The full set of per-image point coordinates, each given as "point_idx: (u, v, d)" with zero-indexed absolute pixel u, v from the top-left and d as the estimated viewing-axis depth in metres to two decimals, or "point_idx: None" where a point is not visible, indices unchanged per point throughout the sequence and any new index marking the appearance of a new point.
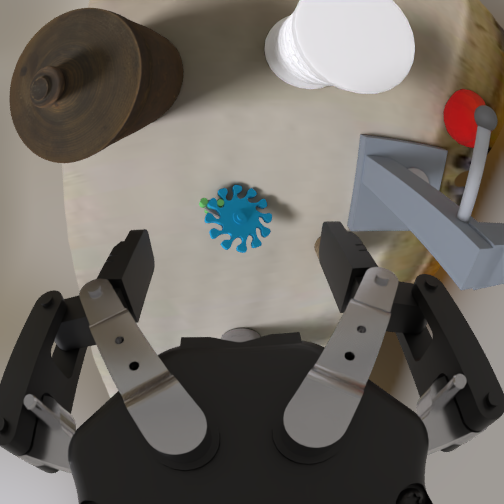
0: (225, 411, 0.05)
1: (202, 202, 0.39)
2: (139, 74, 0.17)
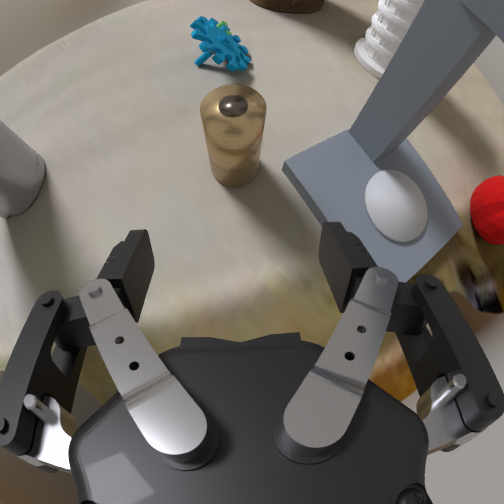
0: (226, 411, 0.05)
1: (223, 21, 0.29)
2: None
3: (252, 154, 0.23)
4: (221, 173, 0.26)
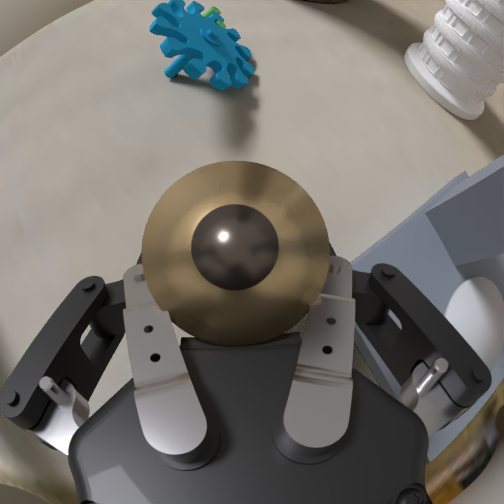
0: (225, 411, 0.05)
1: (214, 8, 0.18)
2: None
3: None
4: None
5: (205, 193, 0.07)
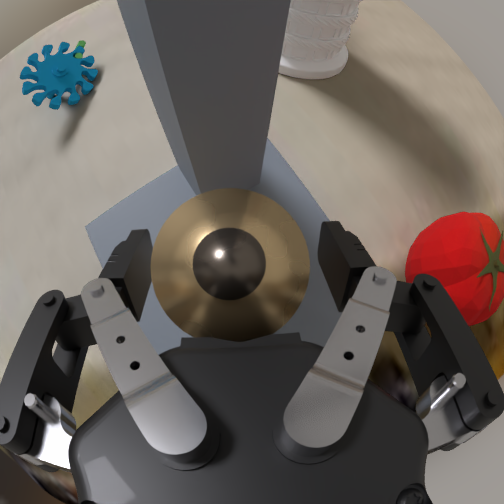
0: (226, 411, 0.05)
1: (81, 41, 0.22)
2: None
3: None
4: None
5: (204, 217, 0.09)
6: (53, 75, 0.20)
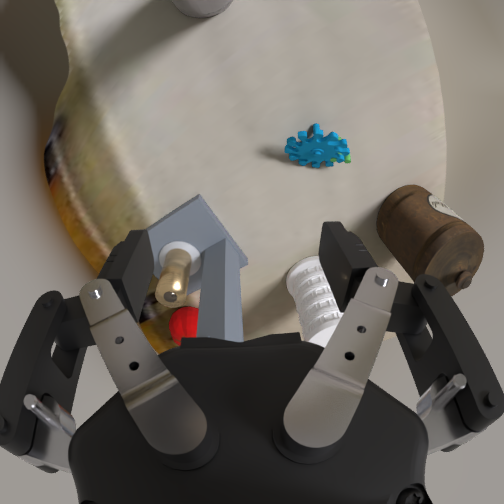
0: (225, 411, 0.05)
1: (349, 161, 0.41)
2: None
3: None
4: None
5: (178, 292, 0.43)
6: (312, 149, 0.40)
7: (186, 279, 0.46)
